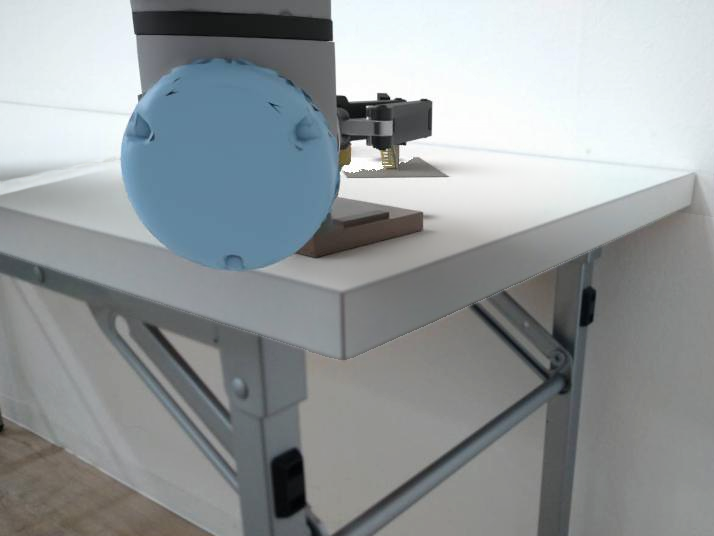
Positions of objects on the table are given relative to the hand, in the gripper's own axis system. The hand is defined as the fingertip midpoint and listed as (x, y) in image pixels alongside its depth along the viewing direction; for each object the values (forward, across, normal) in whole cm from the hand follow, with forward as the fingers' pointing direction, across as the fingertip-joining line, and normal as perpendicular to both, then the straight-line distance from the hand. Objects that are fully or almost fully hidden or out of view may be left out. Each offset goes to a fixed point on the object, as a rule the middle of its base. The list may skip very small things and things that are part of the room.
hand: (297, 108), depth 59 cm
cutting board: (-3, 0, -9) cm, 9 cm away
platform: (+33, +9, -9) cm, 35 cm away
